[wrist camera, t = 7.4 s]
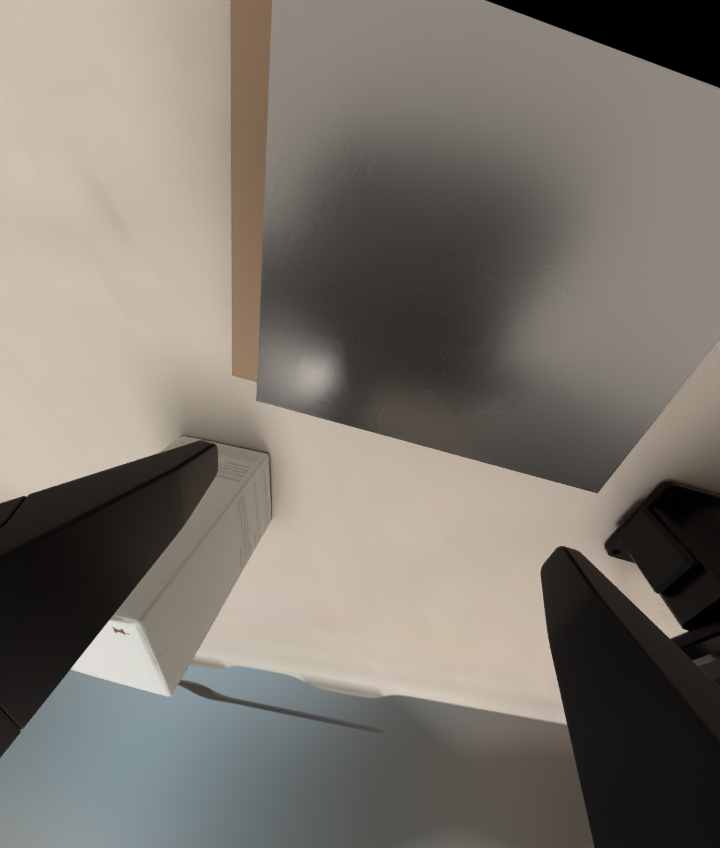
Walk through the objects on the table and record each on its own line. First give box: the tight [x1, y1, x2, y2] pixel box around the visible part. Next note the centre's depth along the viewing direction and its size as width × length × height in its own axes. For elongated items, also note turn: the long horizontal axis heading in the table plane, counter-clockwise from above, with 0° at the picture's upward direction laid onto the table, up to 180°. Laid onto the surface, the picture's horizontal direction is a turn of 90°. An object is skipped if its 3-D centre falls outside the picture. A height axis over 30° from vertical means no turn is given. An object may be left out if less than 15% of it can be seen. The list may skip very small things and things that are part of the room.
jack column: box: [256, 0, 720, 493], centre depth 7 cm, size 4×4×10 cm
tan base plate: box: [231, 0, 272, 382], centre depth 12 cm, size 20×18×7 cm
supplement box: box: [71, 436, 271, 696], centre depth 20 cm, size 7×7×13 cm
